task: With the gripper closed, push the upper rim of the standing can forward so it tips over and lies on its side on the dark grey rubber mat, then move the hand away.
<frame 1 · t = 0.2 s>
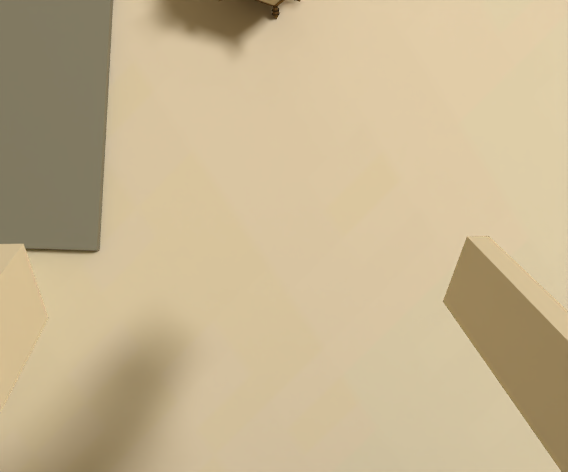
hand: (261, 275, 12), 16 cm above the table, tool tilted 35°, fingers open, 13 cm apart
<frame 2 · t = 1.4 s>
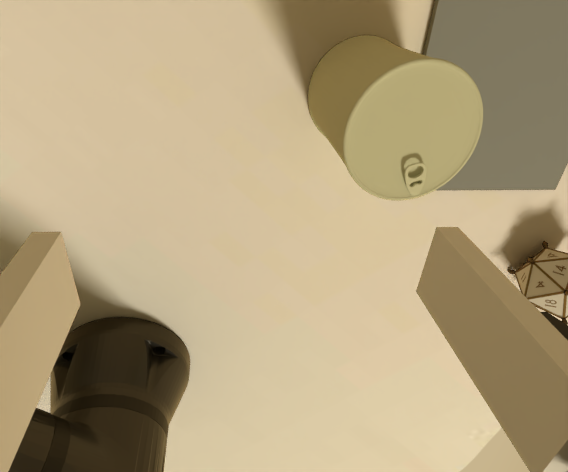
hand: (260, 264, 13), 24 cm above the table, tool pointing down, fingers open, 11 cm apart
can: (358, 93, 35), on the table
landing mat: (505, 98, 37), on the table
game die: (530, 260, 49), on the table
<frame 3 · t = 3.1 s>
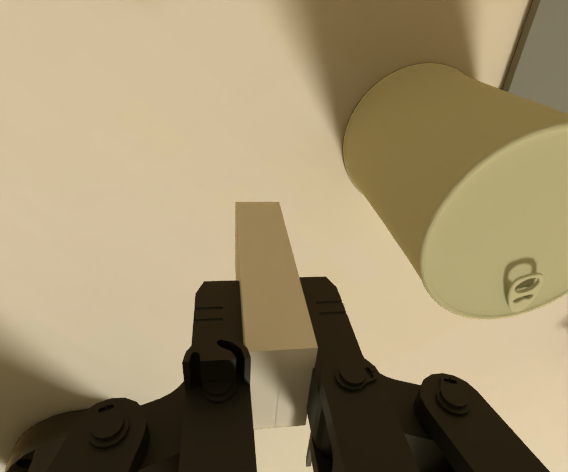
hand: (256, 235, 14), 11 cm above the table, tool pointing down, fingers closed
can: (411, 139, 26), on the table
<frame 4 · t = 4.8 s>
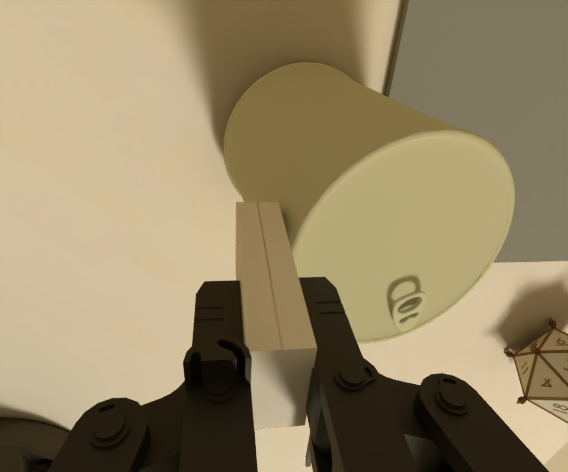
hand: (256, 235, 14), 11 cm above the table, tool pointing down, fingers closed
can: (299, 144, 24), point 1 cm above the table, touching gripper
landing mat: (504, 147, 26), on the table
game die: (533, 339, 38), on the table
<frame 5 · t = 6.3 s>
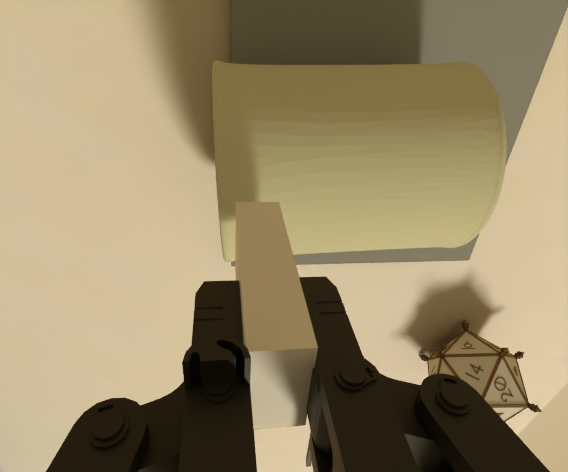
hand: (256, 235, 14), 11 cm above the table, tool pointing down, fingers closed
can: (215, 166, 19), point 5 cm above the table, touching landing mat
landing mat: (376, 140, 25), on the table
game die: (449, 342, 37), on the table
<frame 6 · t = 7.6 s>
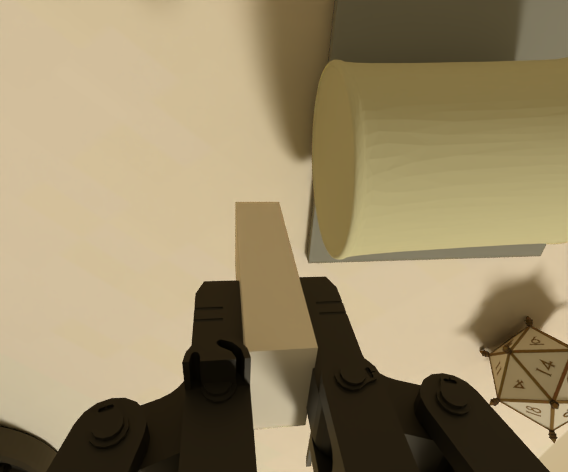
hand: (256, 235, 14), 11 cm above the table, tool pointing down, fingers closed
can: (324, 164, 19), point 5 cm above the table, touching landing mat
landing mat: (461, 136, 25), on the table
game die: (510, 338, 37), on the table
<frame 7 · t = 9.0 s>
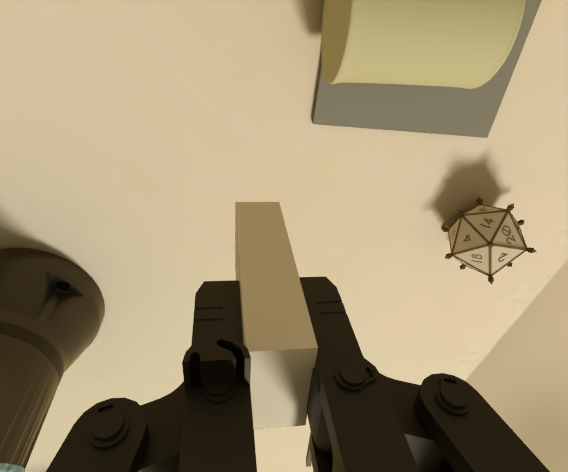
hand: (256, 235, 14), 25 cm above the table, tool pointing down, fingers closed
can: (331, 15, 29), point 5 cm above the table, touching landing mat
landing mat: (429, 27, 34), on the table
game die: (465, 219, 46), on the table
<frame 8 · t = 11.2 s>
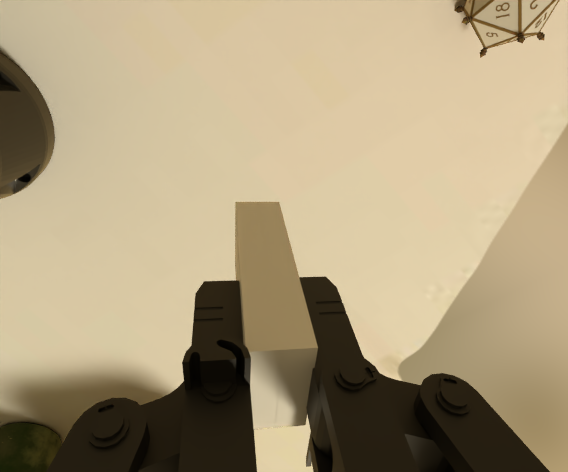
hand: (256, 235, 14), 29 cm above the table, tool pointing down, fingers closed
green bottle: (27, 438, 64), on the table
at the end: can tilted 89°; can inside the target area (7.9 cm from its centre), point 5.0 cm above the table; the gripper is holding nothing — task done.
